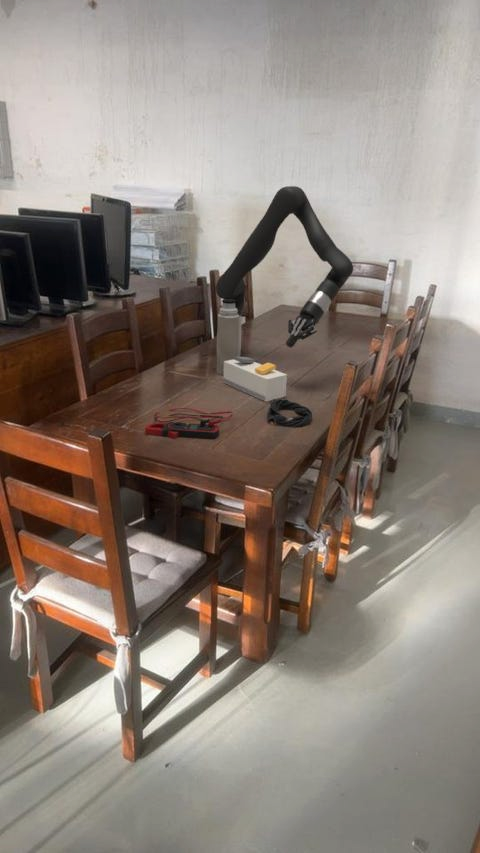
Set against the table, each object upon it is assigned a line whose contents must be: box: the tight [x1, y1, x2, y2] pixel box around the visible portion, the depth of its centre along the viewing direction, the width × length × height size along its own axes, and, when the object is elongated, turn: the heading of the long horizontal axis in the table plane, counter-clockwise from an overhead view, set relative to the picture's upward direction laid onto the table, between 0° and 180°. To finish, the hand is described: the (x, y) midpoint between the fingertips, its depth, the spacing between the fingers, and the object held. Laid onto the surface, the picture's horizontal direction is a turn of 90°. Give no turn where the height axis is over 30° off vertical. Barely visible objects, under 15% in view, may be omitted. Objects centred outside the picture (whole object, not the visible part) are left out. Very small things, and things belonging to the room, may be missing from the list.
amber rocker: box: [255, 362, 277, 375], centre depth 203 cm, size 4×6×2 cm, turn 128°
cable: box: [266, 398, 313, 428], centre depth 187 cm, size 17×14×4 cm
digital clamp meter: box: [144, 407, 234, 440], centre depth 180 cm, size 23×4×25 cm
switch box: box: [222, 359, 288, 402], centre depth 209 cm, size 24×9×8 cm, turn 38°
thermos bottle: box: [216, 299, 239, 376], centre depth 222 cm, size 8×8×28 cm
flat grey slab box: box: [234, 356, 255, 364], centre depth 211 cm, size 4×6×2 cm, turn 128°
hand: (288, 345), depth 206 cm, fingers closed
